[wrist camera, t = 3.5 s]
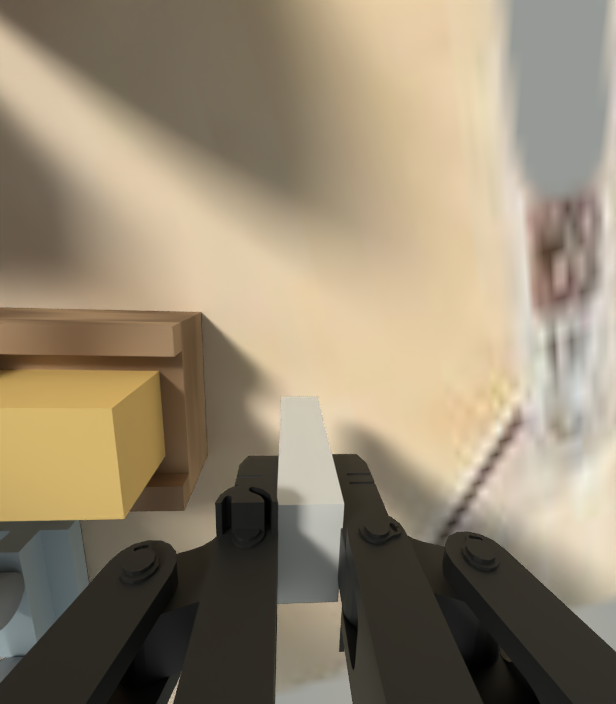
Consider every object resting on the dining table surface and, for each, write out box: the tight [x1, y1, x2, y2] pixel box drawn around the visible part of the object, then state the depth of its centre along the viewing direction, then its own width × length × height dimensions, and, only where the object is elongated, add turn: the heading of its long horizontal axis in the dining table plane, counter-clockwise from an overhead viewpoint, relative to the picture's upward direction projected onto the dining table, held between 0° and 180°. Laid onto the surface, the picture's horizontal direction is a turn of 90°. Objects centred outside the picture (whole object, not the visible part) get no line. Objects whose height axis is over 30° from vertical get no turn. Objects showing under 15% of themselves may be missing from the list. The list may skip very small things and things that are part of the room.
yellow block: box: [0, 369, 166, 521], centre depth 13 cm, size 7×4×4 cm, turn 88°
